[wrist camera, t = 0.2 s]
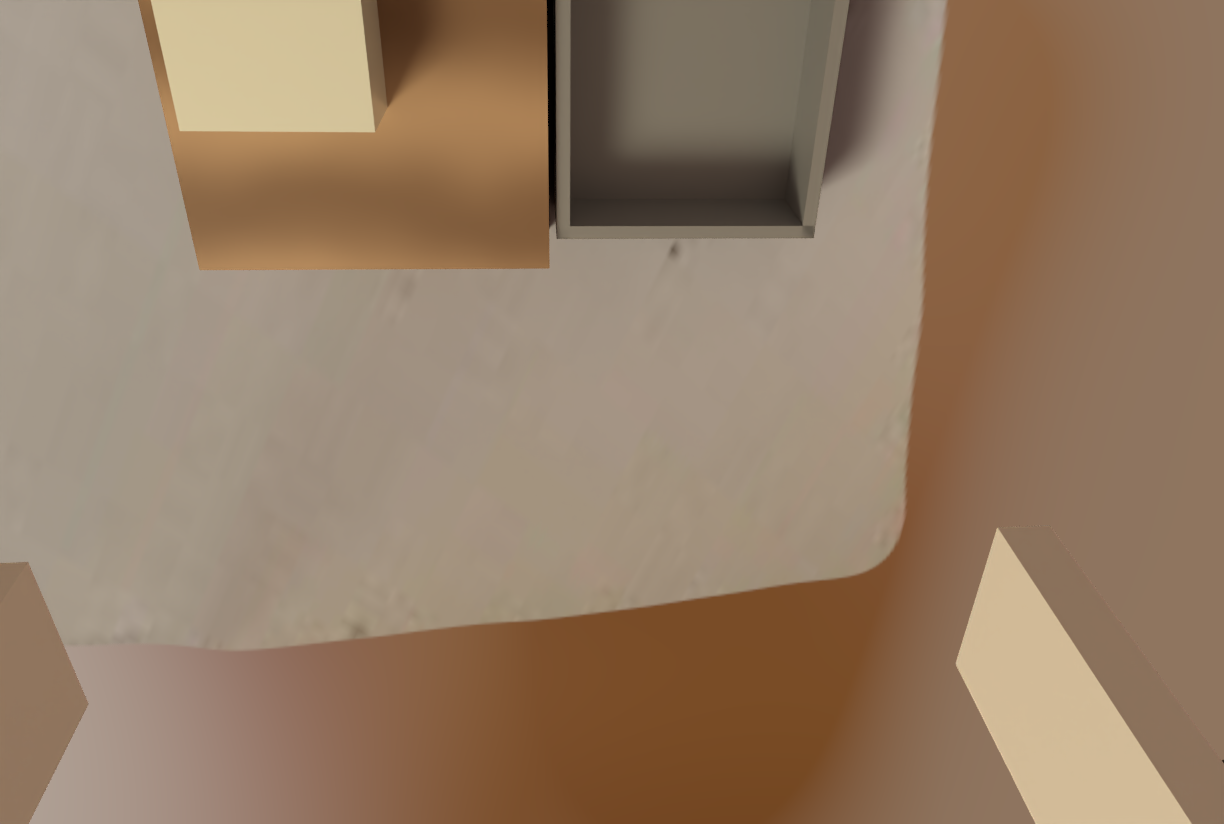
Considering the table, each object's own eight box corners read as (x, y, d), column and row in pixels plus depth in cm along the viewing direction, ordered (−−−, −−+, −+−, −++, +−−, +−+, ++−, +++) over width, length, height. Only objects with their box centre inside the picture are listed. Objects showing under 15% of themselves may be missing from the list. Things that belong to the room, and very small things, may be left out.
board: (114, -331, 28) (58, -350, 25) (542, -312, 29) (543, -329, 26) (229, 229, 38) (199, 269, 35) (547, 229, 39) (549, 268, 36)
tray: (551, -273, 30) (553, -283, 27) (855, -261, 31) (890, -269, 28) (554, 206, 38) (556, 238, 36) (792, 206, 39) (813, 238, 36)
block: (167, -95, 28) (131, -87, 26) (367, -91, 29) (351, -82, 26) (207, 106, 32) (179, 130, 29) (387, 107, 32) (375, 132, 29)
